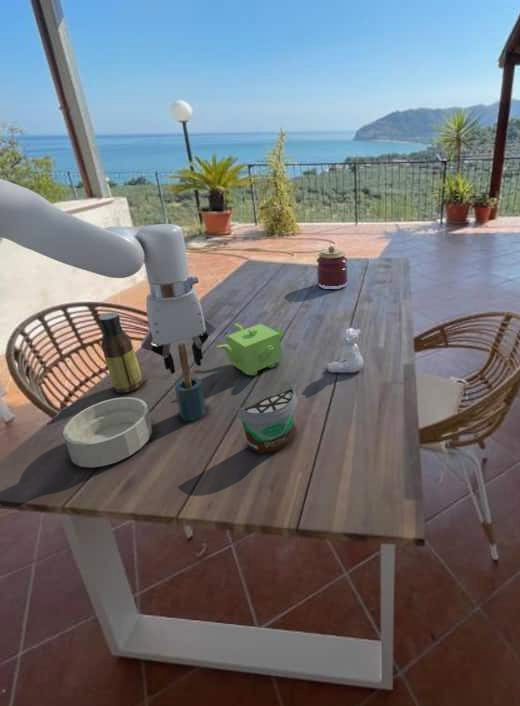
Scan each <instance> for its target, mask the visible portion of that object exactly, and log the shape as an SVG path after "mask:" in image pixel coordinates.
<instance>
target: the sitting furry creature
mask: <svg viewBox="0 0 520 706" xmlns="http://www.w3.org/2000/svg"><path fill="white" fill-rule="evenodd" d="M359 335H361V329H354V328H353V327H350V328H347V329H346V330H345V332H343V335H342V339H341V343H342V348H341V351H340V355H339V359H338V361H332V362H330V363H328V365H327V371H328V372H329V373H333V374H334V373H338V374H339V373H341V374H343V373H344V374H347V373H350V374H354V373H357V372H359V371H360V370H361V369H362V368H363V367H364V361H365V360H364V358H363V356H362V354H361V353H360V349H359V346H358V344H357V343H358V340H359Z"/></svg>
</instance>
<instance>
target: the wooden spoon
mask: <svg viewBox="0 0 520 706" xmlns="http://www.w3.org/2000/svg"><path fill="white" fill-rule="evenodd" d="M177 351H178V355H179V361H180V366H181V372H182V378H183V379H184V384H185V388H190V387H192V383H191V377H192V376H191V371H190V366H189V360H188V355H187V349H186V344H185V343H184V342H183V343H182V342H181V343H179V344H177Z"/></svg>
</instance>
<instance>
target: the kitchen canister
mask: <svg viewBox="0 0 520 706" xmlns="http://www.w3.org/2000/svg"><path fill="white" fill-rule="evenodd" d="M345 256H346V253H345V252H344V251H342V250H341V249H337V248H335V246H334V245H330V246H329V247H328V249H323V250H322V251H320V252H319V253H318V257H317V258H316V262H317V267H316V269H317V284H318V283H319V284H321V285H325V286H339V285H343V284H345V283H346V282H347V283H348V265H347V261H348V258H347V257H345Z"/></svg>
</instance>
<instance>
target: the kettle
mask: <svg viewBox="0 0 520 706" xmlns="http://www.w3.org/2000/svg"><path fill="white" fill-rule="evenodd" d="M234 326H235V328H236V330H237V331H236V332H233V333H231V334H228V335H226V340H227V343H222V344H219V345H217V346H216V348H219V349H223V350H224V351H225V353H226V355H227V357H228V358H229V363H230V364H232V365H233V366H234V367H236V368H237V369H238V370H240V371H241V372H243V373H244V374H245V375H247V376H251V377H252V376H256V375H258V371H260V370H262V369H265V368H269V369H271V368H275V366H276V363H278V362H280V361H282V360H283V355H282V343H281V339H282V337H283V336H284V335H285V334H286V332H285V331H284V330H283V329H281V328H278V329H277V330H274V329H272V328H271V327H269V326H267V325H264V324H263V323H259V324H256V325H253V326H251V327H248V328H247V327H246V328H245V329H244V328H243V326H242V324H240V323H239V322H236V323H234Z"/></svg>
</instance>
